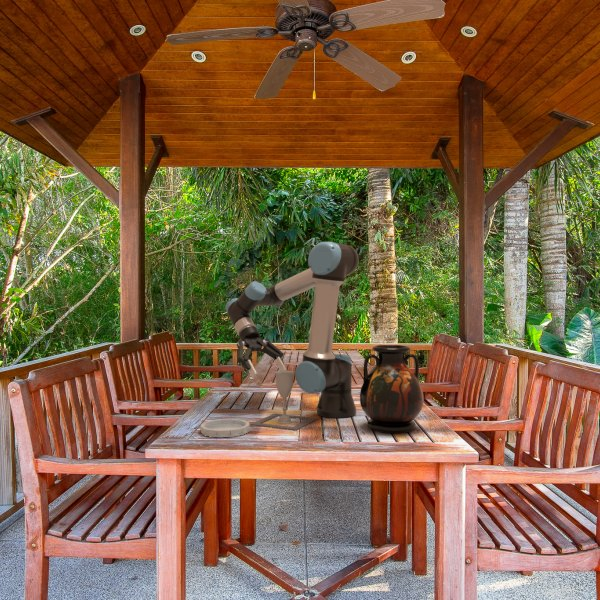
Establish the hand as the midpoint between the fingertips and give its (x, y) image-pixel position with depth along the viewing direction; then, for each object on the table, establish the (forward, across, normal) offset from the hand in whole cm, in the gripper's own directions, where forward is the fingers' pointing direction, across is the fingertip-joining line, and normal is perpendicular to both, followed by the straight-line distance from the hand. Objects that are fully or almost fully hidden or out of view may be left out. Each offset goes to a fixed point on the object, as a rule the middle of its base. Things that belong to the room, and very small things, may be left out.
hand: (269, 374), depth 191 cm
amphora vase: (+39, -23, +16) cm, 48 cm away
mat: (+18, 0, -6) cm, 18 cm away
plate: (+16, +23, -7) cm, 29 cm away
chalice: (+18, 0, -6) cm, 19 cm away
